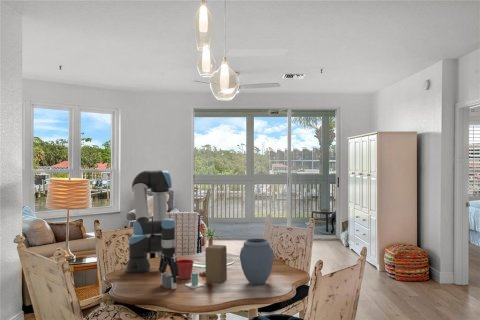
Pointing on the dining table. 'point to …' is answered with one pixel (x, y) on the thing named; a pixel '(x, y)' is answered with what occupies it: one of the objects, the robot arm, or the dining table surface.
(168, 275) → the grey rectangular block
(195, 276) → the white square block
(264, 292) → the dining table surface
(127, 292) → the dining table surface
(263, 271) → the vase
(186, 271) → the flower pot
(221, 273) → the wooden block
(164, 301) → the dining table surface
